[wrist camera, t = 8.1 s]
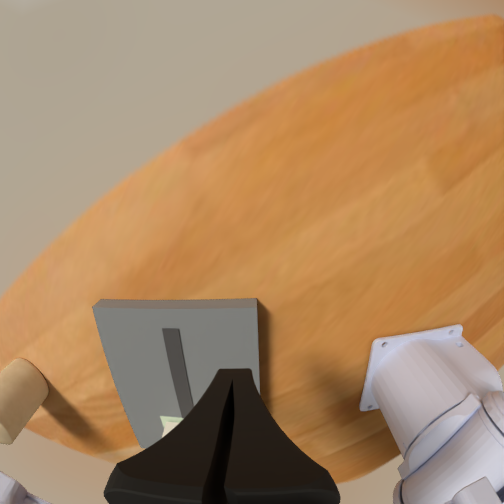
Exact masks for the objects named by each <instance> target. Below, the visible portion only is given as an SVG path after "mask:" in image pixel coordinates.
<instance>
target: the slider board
mask: <svg viewBox="0 0 504 504" xmlns="http://www.w3.org/2000/svg"><path fill="white" fill-rule="evenodd" d="M92 308H93V312H94V316H95V320H96V324H97V328H98V332H99V335H100V339H101V342H102V346H103V349H104V352H105V356H106V359H107V362H108V365H109V368H110V371H111V374H112V377H113V380H114V383H115V386H116V388H117V391H118V394H119V397H120V399H121V402H122V404H123V407H124V410H125V412H126V415H127V417H128V419H129V422H130V424H131V426H132V429H133V431H134V433H135V436H136V438H137V440H138V442H139V444H140V447H141V448H148V447H150V446H151V445H153V444H154V443H156V442H157V441H159V440H160V439H161V438H162V435H163V432H164V428H165V425H166V422H177V423H180V422H181V421H182V420H183V419H184V418H185V417H186V415H187V414H188V413H189V412H190V411H191V410H192V408H193V407H194V406H195V405H196V404H197V402H198V401H199V400H200V398H201V397H202V395H203V394H204V393H205V391H206V390H207V388H208V387H209V385H210V383H211V382H212V380H213V378H214V376H215V375H216V373H217V371H218V370H219V369H235V368H250V369H251V370H252V374H253V379H254V382H255V385H256V388H257V390H258V392H259V394H260V380H259V350H258V321H257V298H251V299H216V300H108V299H101V300H100V301H98V302H97V303H96V304H95V305H94V306H93V307H92Z"/></svg>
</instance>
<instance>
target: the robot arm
mask: <svg viewBox="0 0 504 504" xmlns="http://www.w3.org/2000/svg"><path fill="white" fill-rule="evenodd" d="M462 330H463V327H462V326H461V325H460V324H458V325H453V326H448V327H443V328H438V329H432V330H427V331H421V332H416V333H410V334H403V335H397V336H390V337H383V338H377V339H375V340H374V341H373V343H372V347H371V353H370V358H369V364H368V369H367V374H366V378H365V383H364V388H363V392H362V396H361V401H360V405H359V409H360V410H361V411H368V410H374V409H379V408H380V410H381V412H382V414H383V416H384V418H385V420H386V422H387V425H388V427H389V429H390V431H391V433H392V435H393V437H394V439H395V441H396V443H397V446H398V448H399V450H400V452H401V454H402V456H403V458H404V462H403V463H402V464H401V465H400V466H399V467H398V470H399V473H400V475H401V477H402V479H401V480H400V481H399V482H398V483H397V484H396V486H395V489H394V493H393V503H394V504H504V392H503V388H502V382H501V379H500V376H499V374H498V371H497V370H496V368H495V367H494V366H493V365H492V364H491V363H490V362H489V361H488V360H487V359H486V358H485V357H484V356H483V355H482V354H481V353H479V352H478V351H477V350H476V349H475V348H474V347H473V346H472V345H471V344H470V343H469V342H468V341H466V340H465V339H464V338H463V337H462V336H461V334H462ZM450 331H451V332H450ZM449 332H450V333H449ZM384 342H386V343H385V344H384V345H382V344H383V343H384ZM369 405H370V406H369ZM104 497H105V499H106V500H107V501H108V503H109V504H339V503H340V494H339V491H338V489H337V486H336V484H335V482H334V480H333V479H332V477H331V475H330V474H329V472H328V471H327V470H326V469H325V468H323V467H322V466H320V465H319V464H317V463H316V462H315V461H313V460H312V459H311V458H310V457H308V456H307V455H306V454H305V453H304V452H302V451H301V450H300V449H299V448H298V447H297V446H296V445H295V444H294V443H293V442H292V441H291V440H290V439H289V438H288V437H287V435H286V434H285V433H284V432H283V431H282V430H281V428H280V427H279V426H278V424H277V423H276V422H275V420H274V419H273V417H272V416H271V414H270V413H269V411H268V409H267V408H266V406H265V404H264V402H263V401H262V398H261V396H260V394H259V392H258V390H257V388H256V385H255V382H254V379H253V374H252V370H251V369H250V368H235V369H219V370H218V371H217V373H216V375H215V376H214V378H213V380H212V382H211V383H210V385H209V387H208V388H207V390H206V391H205V393H204V394H203V395H202V397H201V398H200V400H199V401H198V402H197V404H196V405H195V406H194V407H193V408H192V410H191V411H190V412H189V413H188V414H187V415H186V417H185V418H184V419H183V420H182V421H181V422H180V423H179V424H178V425H177V426H176V427H174V428H173V429H172V430H171V431H170V432H169V433H167V434H166V435H165V436H164V437H162V438H161V439H160V440H159V441H157V442H156V443H154V444H153V445H151V446H150V447H148V448H146V449H145V450H143V451H142V452H140V453H138V454H136V455H134V456H132V457H130V458H128V459H126V460H124V461H122V462H119V463H117V465H116V467H115V468H114V470H113V471H112V473H111V475H110V477H109V480H108V482H107V485H106V487H105V490H104ZM0 504H51V503H49V502H47V501H45V500H43V499H41V498H39V497H37V496H34V495H33V494H30V493H29V492H27V490H26V489H25V488H24V487H23V486H22V485H21V484H20V483H19V482H18V481H16V480H15V479H13V478H11V477H10V476H8V475H6V474H4V473H3V472H1V471H0Z"/></svg>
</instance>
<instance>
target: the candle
mask: <svg viewBox="0 0 504 504" xmlns="http://www.w3.org/2000/svg"><path fill="white" fill-rule="evenodd" d="M48 393H49V389H48V385H47V382H46V380H45V379H44V377H43V375H42V374H41V373H40V371H39V370H38V369H37V368H36V367H35V366H34V365H33V364H31V363H30V362H29V361H27V360H25V359H23V358H16V359H14V360H13V361H12V362H11V363H10V364H9V365H7V366H6V367H5V368H4V369H3V370H2V371H1V372H0V443H1V444H8V445H10V444H12V443H13V442H14V440H15V439H16V437H17V436H18V435H19V433H20V432H21V431H22V429H23V428H24V426H25V425H26V424H27V422H28V421H29V420H30V418H31V417H32V416H33V414H34V413H35V412H36V410H37V409H38V408H39V406H40V405H41V404H42V403H43V401H44V400H45V398H46V397H47V395H48Z"/></svg>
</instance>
